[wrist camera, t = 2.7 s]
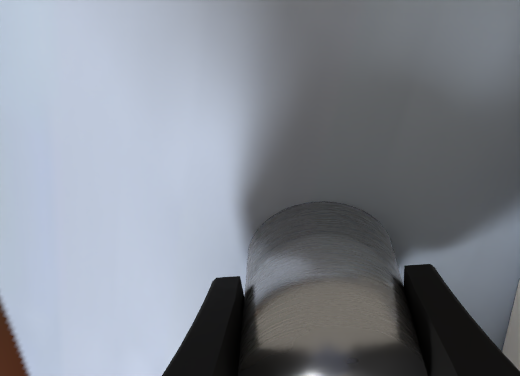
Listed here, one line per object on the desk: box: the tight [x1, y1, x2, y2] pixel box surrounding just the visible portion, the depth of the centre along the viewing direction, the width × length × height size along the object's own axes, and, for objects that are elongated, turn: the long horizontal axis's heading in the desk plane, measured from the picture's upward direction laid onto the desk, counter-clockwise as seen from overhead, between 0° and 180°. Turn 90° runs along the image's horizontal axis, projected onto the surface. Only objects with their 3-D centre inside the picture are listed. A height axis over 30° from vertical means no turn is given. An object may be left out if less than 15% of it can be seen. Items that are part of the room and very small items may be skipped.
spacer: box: [238, 202, 428, 376], centre depth 12 cm, size 4×4×4 cm
